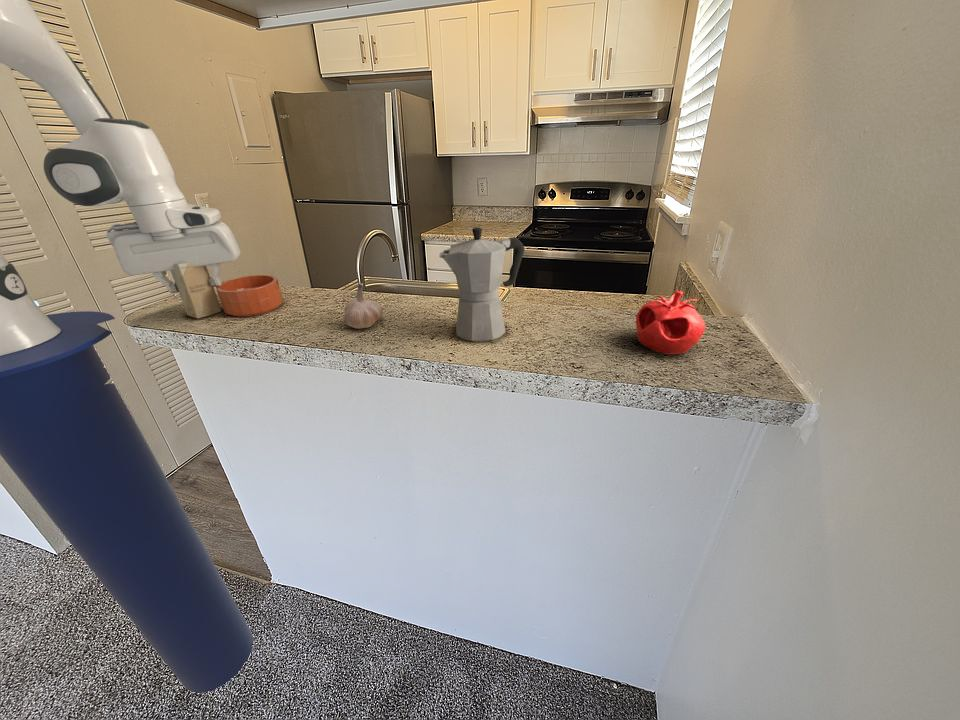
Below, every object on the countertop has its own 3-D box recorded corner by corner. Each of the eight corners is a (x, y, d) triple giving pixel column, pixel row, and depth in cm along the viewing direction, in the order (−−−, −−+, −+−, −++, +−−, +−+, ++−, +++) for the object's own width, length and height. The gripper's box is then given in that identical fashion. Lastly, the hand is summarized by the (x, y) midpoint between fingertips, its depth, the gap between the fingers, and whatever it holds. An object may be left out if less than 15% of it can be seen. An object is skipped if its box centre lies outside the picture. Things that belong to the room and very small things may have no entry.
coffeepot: (457, 350, 66) (450, 238, 57) (436, 329, 73) (427, 227, 65) (536, 330, 72) (540, 225, 63) (509, 313, 79) (509, 217, 71)
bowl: (217, 320, 81) (208, 294, 78) (233, 301, 90) (225, 277, 88) (278, 313, 83) (271, 288, 80) (287, 295, 93) (281, 272, 90)
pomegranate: (656, 327, 71) (666, 276, 67) (711, 347, 64) (727, 291, 60) (619, 342, 67) (627, 288, 62) (674, 366, 59) (688, 307, 55)
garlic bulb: (378, 313, 81) (371, 274, 77) (391, 325, 76) (385, 284, 72) (340, 322, 78) (332, 282, 74) (352, 335, 72) (343, 293, 69)
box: (197, 319, 82) (175, 265, 76) (187, 315, 84) (165, 262, 78) (223, 310, 85) (204, 258, 80) (212, 307, 88) (193, 256, 82)
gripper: (92, 229, 71) (132, 303, 78) (218, 213, 74) (246, 285, 81) (110, 223, 76) (147, 292, 83) (227, 208, 80) (253, 276, 87)
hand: (197, 288), depth 82 cm, fingers closed on box, 6 cm apart
